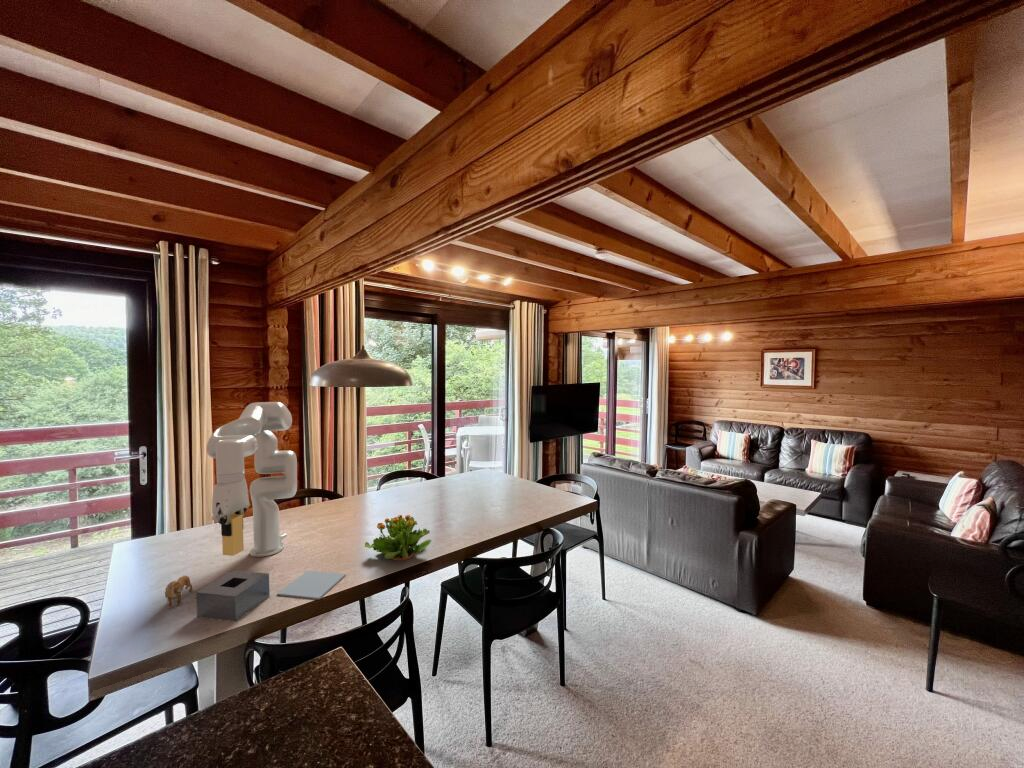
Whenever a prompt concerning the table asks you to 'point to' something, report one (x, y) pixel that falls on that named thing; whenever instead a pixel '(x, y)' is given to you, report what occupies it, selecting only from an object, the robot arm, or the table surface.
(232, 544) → the peg
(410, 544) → the potted flower
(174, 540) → the table surface
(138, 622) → the table surface
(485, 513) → the table surface
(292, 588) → the mat
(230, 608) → the hole block
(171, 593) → the brown animal figure
